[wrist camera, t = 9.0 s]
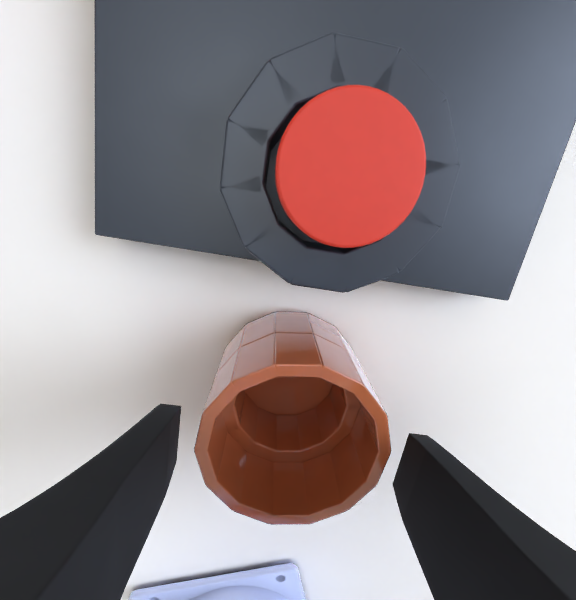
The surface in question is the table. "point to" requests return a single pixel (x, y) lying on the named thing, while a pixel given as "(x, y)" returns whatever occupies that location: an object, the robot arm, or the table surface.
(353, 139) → the button
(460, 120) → the console
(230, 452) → the cup
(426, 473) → the robot arm
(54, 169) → the table surface
